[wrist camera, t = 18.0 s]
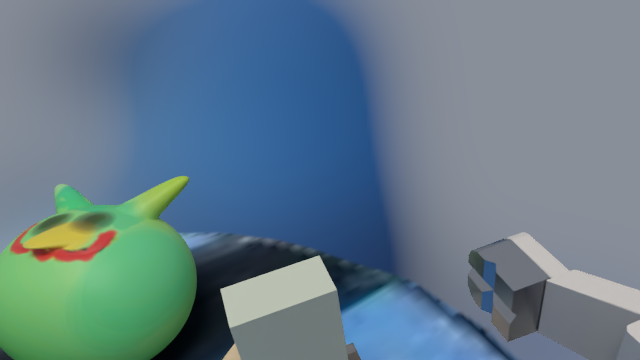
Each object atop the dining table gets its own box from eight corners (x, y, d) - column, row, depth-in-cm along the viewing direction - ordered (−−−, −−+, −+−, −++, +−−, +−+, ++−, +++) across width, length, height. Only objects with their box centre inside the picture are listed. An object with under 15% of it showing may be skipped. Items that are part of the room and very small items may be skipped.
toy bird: (-9, 398, 45) (-110, 285, 37) (96, 265, 59) (40, 159, 50) (169, 426, 41) (100, 304, 32) (239, 275, 54) (203, 161, 46)
